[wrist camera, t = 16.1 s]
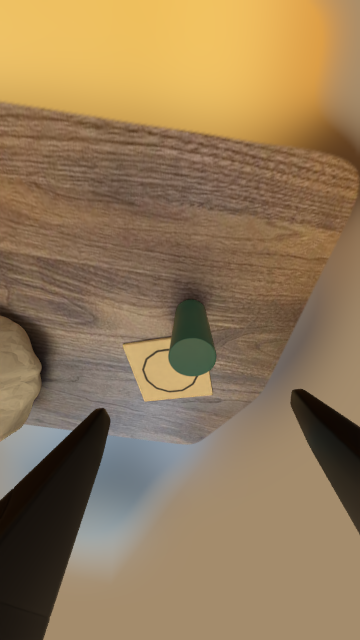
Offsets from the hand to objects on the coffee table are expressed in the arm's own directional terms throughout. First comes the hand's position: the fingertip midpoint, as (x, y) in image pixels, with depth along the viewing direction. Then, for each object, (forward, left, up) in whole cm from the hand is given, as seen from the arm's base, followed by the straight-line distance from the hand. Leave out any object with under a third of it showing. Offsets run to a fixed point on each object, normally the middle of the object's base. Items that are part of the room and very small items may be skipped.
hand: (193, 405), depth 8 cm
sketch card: (-8, +4, -12) cm, 15 cm away
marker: (0, 0, -12) cm, 12 cm away
